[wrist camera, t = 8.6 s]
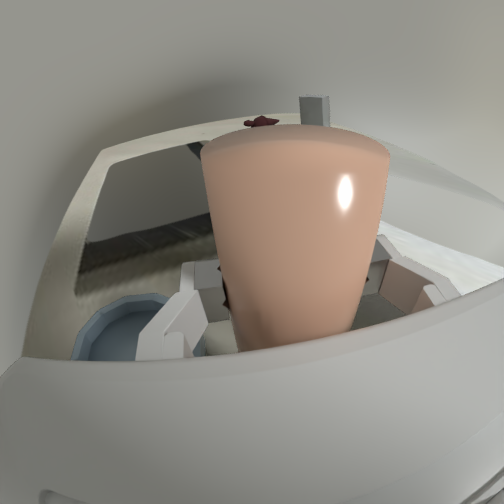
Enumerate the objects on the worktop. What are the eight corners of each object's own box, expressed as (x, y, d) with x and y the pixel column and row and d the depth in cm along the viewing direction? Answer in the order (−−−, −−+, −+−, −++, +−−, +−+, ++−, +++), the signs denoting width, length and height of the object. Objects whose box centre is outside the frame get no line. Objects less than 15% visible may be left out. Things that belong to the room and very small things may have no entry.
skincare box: (330, 140, 83) (331, 95, 73) (322, 144, 79) (323, 96, 69) (308, 136, 87) (307, 93, 78) (299, 140, 83) (298, 94, 73)
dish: (204, 303, 30) (200, 287, 29) (209, 421, 19) (202, 413, 18) (98, 312, 29) (89, 299, 28) (74, 415, 18) (60, 405, 17)
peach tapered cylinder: (320, 312, 16) (339, 123, 9) (349, 386, 12) (429, 172, 5) (236, 328, 16) (202, 133, 9) (248, 409, 11) (196, 192, 5)
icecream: (271, 113, 96) (238, 121, 92) (282, 110, 90) (247, 118, 85) (276, 129, 100) (243, 138, 95) (286, 127, 93) (252, 137, 89)
